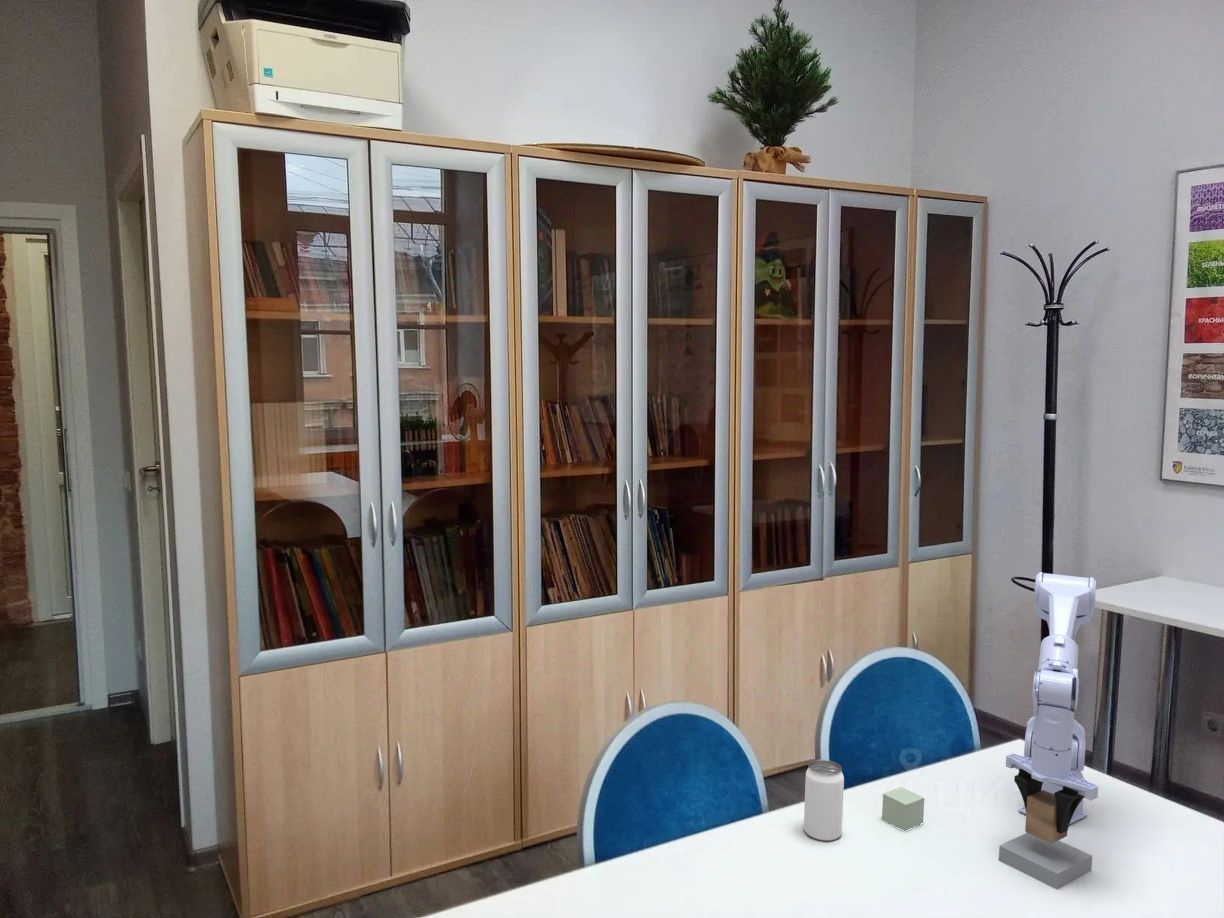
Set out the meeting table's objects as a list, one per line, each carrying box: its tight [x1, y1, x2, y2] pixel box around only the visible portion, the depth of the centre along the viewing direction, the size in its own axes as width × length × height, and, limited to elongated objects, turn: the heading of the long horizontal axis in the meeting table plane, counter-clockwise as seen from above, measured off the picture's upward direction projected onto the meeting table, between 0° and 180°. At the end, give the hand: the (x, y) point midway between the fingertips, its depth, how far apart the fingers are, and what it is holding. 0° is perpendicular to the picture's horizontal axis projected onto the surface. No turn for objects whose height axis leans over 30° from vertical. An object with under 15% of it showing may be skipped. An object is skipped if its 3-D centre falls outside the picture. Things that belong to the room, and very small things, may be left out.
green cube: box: [881, 786, 925, 832], centre depth 162 cm, size 5×5×5 cm
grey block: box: [998, 832, 1093, 890], centre depth 149 cm, size 10×10×3 cm
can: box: [803, 759, 845, 842], centre depth 158 cm, size 6×6×12 cm
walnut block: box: [1024, 790, 1068, 844], centre depth 148 cm, size 4×4×6 cm
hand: (1047, 824), depth 148 cm, fingers closed on walnut block, 4 cm apart
